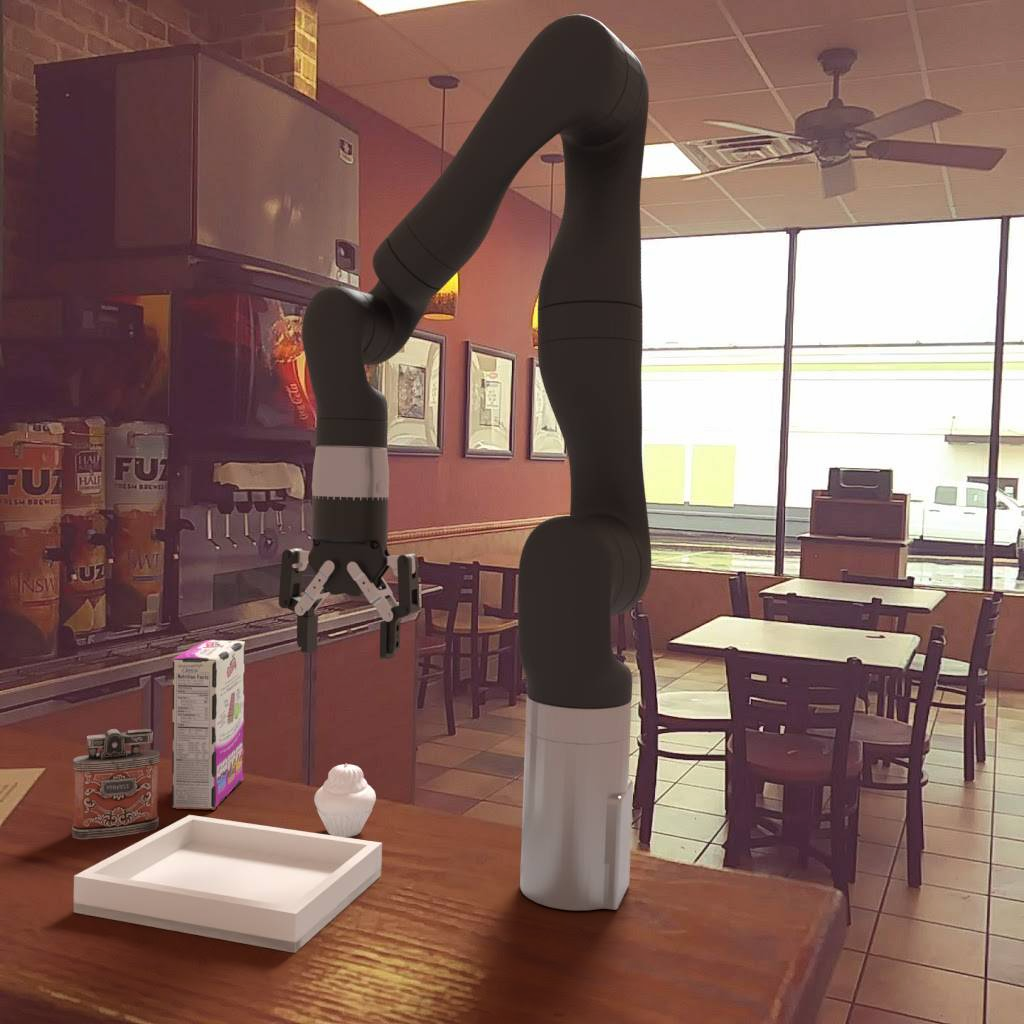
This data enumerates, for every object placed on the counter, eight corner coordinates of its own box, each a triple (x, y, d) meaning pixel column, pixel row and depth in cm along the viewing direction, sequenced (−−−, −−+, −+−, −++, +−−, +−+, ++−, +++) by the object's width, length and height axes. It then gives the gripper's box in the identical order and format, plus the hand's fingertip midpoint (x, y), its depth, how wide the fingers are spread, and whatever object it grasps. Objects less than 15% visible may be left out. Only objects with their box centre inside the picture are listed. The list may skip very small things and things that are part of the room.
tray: (381, 875, 93) (382, 842, 93) (295, 952, 78) (295, 913, 78) (188, 845, 99) (189, 814, 99) (73, 912, 84) (74, 875, 84)
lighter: (73, 841, 99) (75, 738, 99) (70, 830, 102) (72, 730, 102) (161, 830, 103) (163, 731, 103) (155, 820, 106) (157, 723, 106)
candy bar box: (201, 779, 120) (204, 638, 120) (244, 780, 120) (247, 640, 119) (167, 810, 109) (170, 655, 108) (214, 812, 109) (218, 657, 108)
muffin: (310, 823, 106) (311, 756, 106) (369, 819, 108) (371, 753, 108) (317, 845, 100) (319, 774, 100) (379, 840, 102) (381, 770, 102)
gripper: (431, 494, 104) (427, 654, 105) (304, 490, 108) (301, 644, 109) (402, 495, 97) (399, 667, 98) (267, 491, 101) (264, 656, 102)
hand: (347, 655), depth 103 cm, fingers open, 8 cm apart
